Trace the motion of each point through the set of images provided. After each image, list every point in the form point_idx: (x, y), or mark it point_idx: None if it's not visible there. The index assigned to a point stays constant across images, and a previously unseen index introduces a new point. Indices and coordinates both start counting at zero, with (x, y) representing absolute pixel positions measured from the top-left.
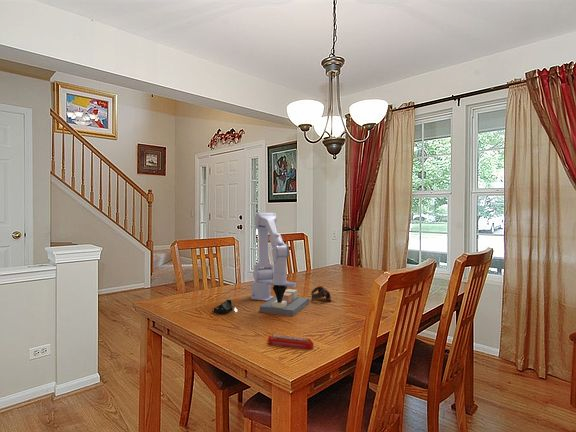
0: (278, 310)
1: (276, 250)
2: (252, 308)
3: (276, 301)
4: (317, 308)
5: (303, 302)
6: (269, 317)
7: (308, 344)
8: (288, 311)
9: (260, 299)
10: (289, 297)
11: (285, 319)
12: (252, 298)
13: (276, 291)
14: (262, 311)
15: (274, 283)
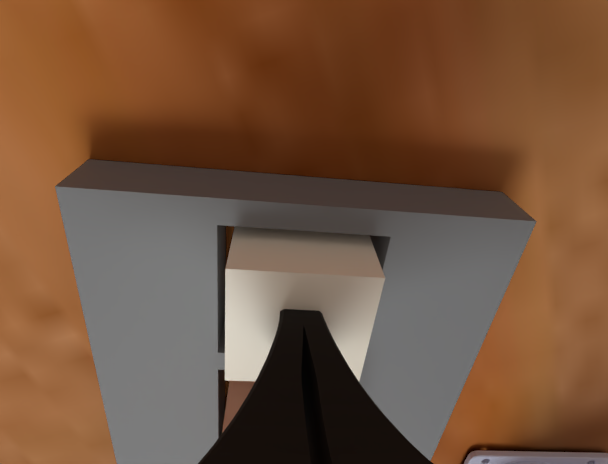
0: (275, 191)
1: None
2: (585, 266)
3: (346, 339)
4: (14, 419)
5: (113, 447)
6: (345, 23)
7: None
8: (134, 182)
9: (529, 454)
10: None
11: (115, 7)
12: (597, 456)
13: (352, 437)
14: (471, 193)
15: None
